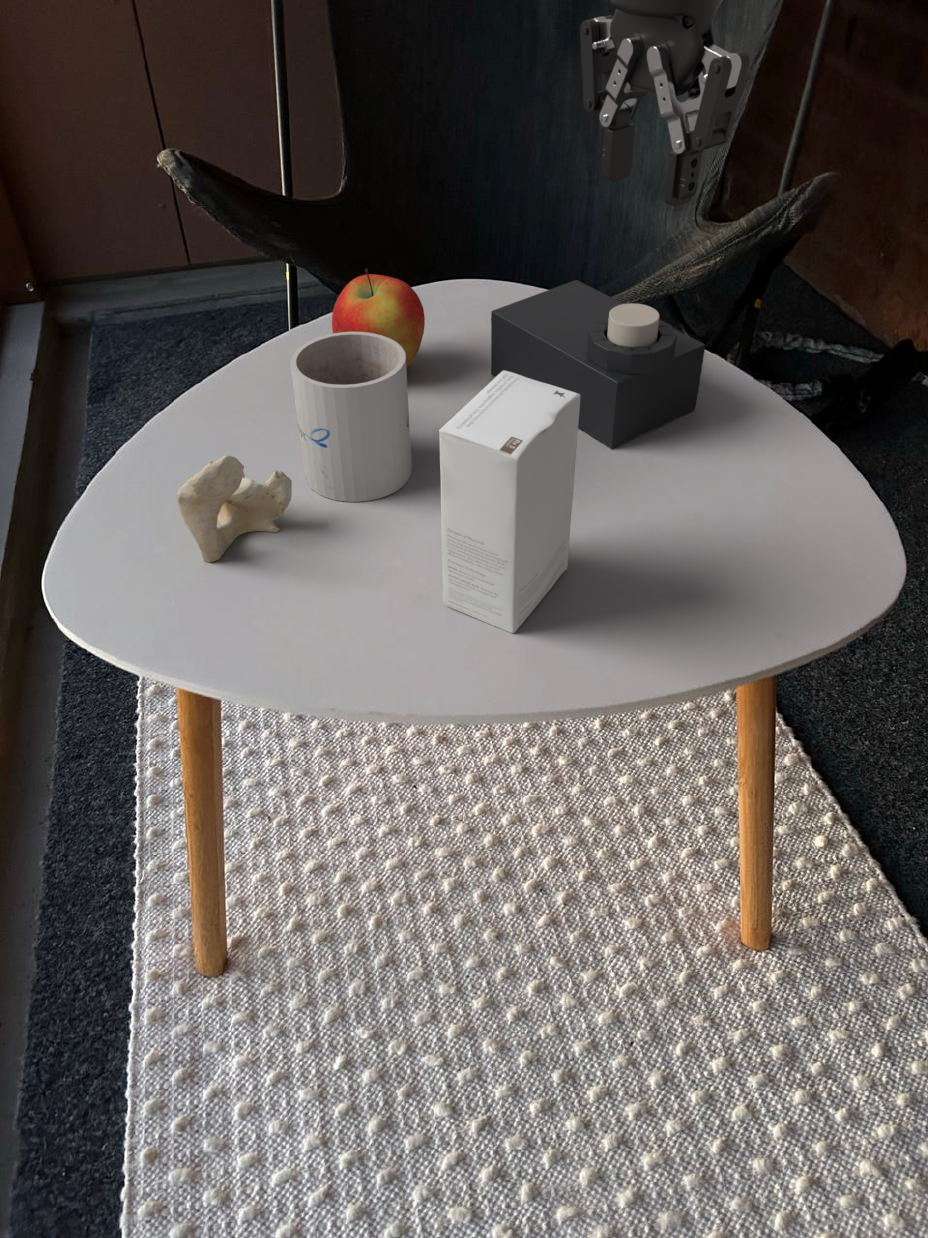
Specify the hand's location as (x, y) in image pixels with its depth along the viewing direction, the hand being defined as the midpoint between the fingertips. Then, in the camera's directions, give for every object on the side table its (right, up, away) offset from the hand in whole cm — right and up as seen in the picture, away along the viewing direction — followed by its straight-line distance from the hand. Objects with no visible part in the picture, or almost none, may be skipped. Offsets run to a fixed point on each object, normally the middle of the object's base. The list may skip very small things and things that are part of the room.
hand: (646, 189), depth 80 cm
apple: (-21, -9, +20) cm, 30 cm away
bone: (-31, -25, +2) cm, 40 cm away
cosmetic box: (-10, -30, -4) cm, 32 cm away
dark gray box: (-2, -11, +17) cm, 20 cm away
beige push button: (0, -9, +8) cm, 12 cm away
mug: (-22, -19, +9) cm, 31 cm away
